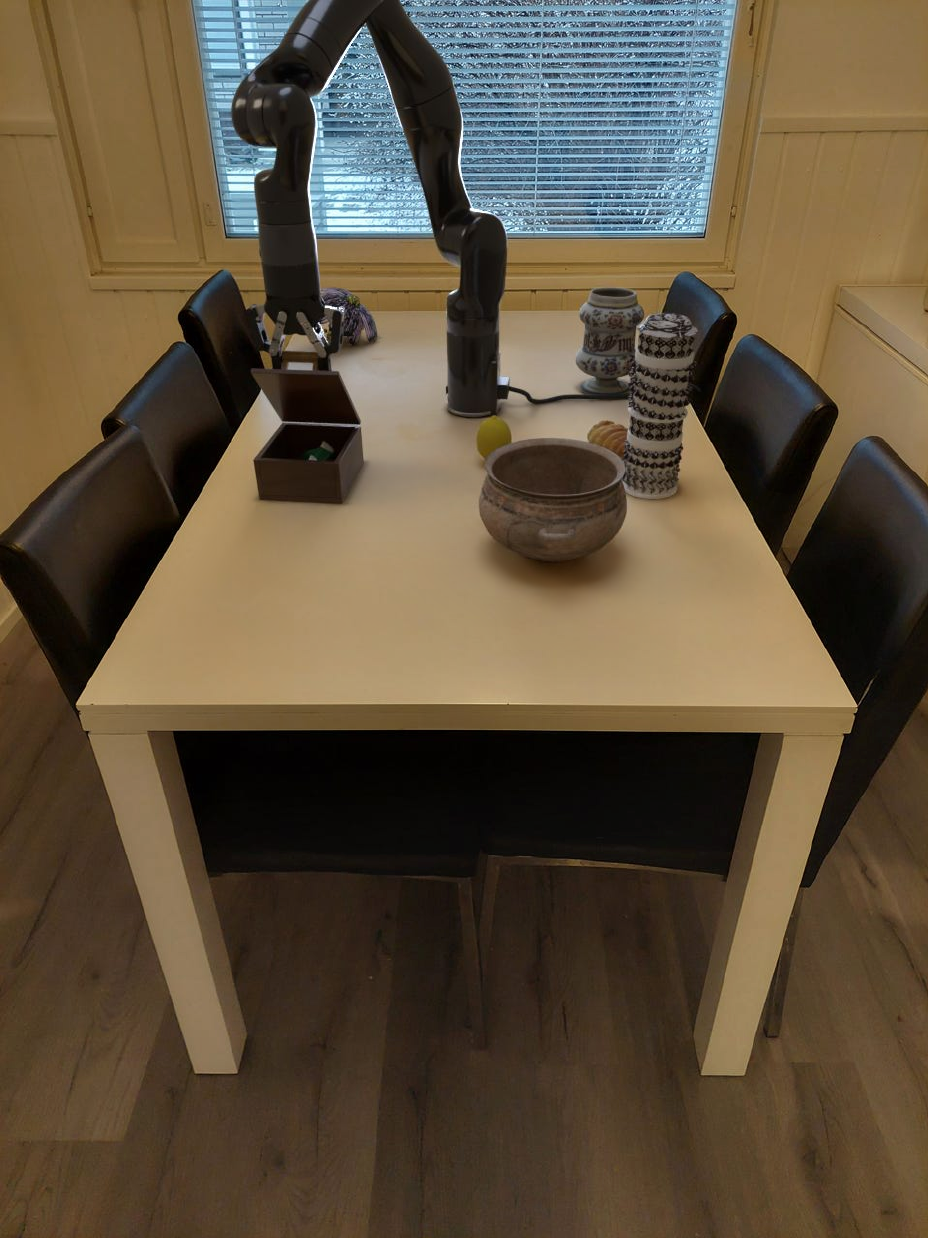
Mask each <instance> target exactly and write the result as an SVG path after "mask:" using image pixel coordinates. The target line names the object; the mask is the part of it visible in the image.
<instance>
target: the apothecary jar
mask: <svg viewBox="0 0 928 1238" xmlns="http://www.w3.org/2000/svg"><path fill="white" fill-rule="evenodd" d="M643 308H644V307H642V305H641V304H640V303H639V300H638V294H637V292H636V291H635V290H633V289H631V288H626V287H618V286H617V287H615V286H602V287H601V286H600V287H595V288H593V289H591V290H590V291H589V297H588V299H587V301H586V302H584V303H583V305H582V306H581V307H580V309H579V312H578V315H579V317H578V318H579V320H580V321H581V323H583V324H584V333H583V341H582V347H580V349H579V350H578V351H577V352H576V354H575V357H574V360H575V365H576V366H577V368H578V369H579V370H580V371H581V372H582V373H584V374H586V375H588V376H591V378H589V379H587V380H585V381H583V382H582V383H581V384H580V385H579V390H580V392H582V394H622V393H631V392H630V391H629V386H628V384H629V382H627V381H624V380H622V379H620V378H622V377H626V376H629V373H630V372H631V369H632V366H631V365H630V363H631V362H630V358H631V357H632V356H635V354H636V349H637V348H636V338H637V337H636V336H637V327H638V325H640V324H642V323H643V322H644V319H645V311H644V309H643ZM635 361H636V360H635ZM636 365H637V362H636Z"/></svg>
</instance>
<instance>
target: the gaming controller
mask: <svg viewBox="0 0 928 1238" xmlns="http://www.w3.org/2000/svg"><path fill="white" fill-rule="evenodd" d="M334 452H335V451H334V449H333V448H332V447H331V446H329V444H327V443H326V442H324V441H323V443H322V445H320V447H319V448H317V449H313V450H308V451H306V452H305V453H303V454H302V456H301V460H319V461H329V459H330V458H332V456H333V454H334Z"/></svg>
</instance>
